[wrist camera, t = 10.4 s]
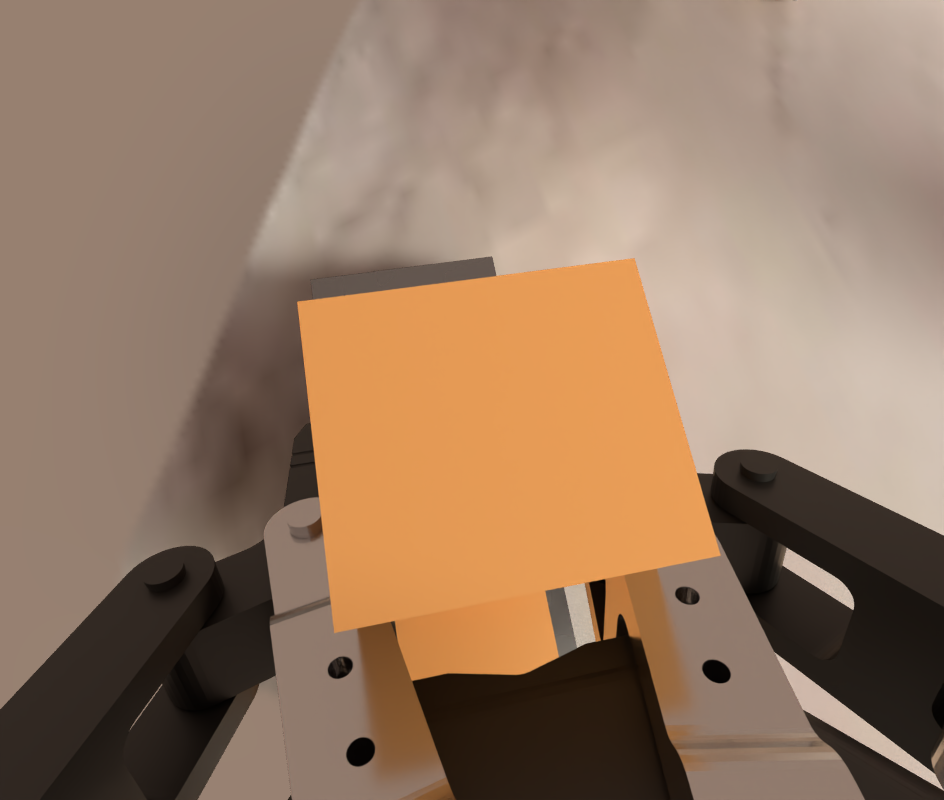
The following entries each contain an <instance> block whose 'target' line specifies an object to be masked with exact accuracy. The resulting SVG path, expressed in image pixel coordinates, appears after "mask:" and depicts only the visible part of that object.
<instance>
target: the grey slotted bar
mask: <svg viewBox="0 0 944 800" xmlns="http://www.w3.org/2000/svg"><path fill="white" fill-rule="evenodd" d="M493 276H496V272H495V267H494V263H493V258H492V257H484V258H477V259H469V260H461V261H453V262H445V263H438V264H430V265H422V266H414V267H406V268H399V269H391V270H383V271H375V272H367V273H360V274H352V275H344V276H336V277H328V278H321V279H313V280H311V288H312V296H313V300H315V299H323V298H330V297H338V296H346V295H354V294H361V293H369V292H377V291H385V290H392V289H400V288H408V287H416V286H423V285H431V284H439V283H447V282H454V281H462V280H470V279H478V278H485V277H493ZM545 592H546V597H547V602H548V607H549V611H550V616H551V621H552V626H553V631H554V636H555V640H556V645H557V650H558V655H559V657H560V656H562V655H564V654H566V653H568V652H570V651H572V650H574V649H576V648H577V646H576V642H575V637H574V632H573V628H572V623H571V618H570V614H569V609H568V605H567V600H566V595H565V591H564V587H562V588H557V589H552V590H547V591H545ZM391 624H392V627H393V630H394V633H395V635H396V638H397V632H396V625H395V621H392V622H391ZM397 641H398V640H397Z"/></svg>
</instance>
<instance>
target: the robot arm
mask: <svg viewBox="0 0 944 800" xmlns="http://www.w3.org/2000/svg"><path fill="white" fill-rule="evenodd" d="M292 455H293V456H292V458H291V464H290V466H291V468H290V471H289V477H288V484H287V490H286V497H285V503H284V508H282V509H281V510H279V511H278V512H277V513H275V514H274V515H273V516H272V517H271V519H270V520H269V521H268V523H267V524H266V526H265V529H264V540H262V541H261V542H259V543H258V544H256V545H254V546H253V547H251V548H249V549H247V550H244V551H242V552H240V553H237V554H235V555H232V556H230V557H227V558H225V559H222V560H220V561H217V562H215V561H214V558H213V556H212V554H211V553H210V552H209V551H207V550H206V549H203V548H201V547H196V546H182V547H176V548H172V549H168V550H165V551H162V552H160V553H157V554H155V555H153V556H151V557H149V558H148V559H146V560H144V561H143V562H141V563H140V564H139V565H137V566H136V567H135V568H133V569H132V570H131V571H130V572H129V573H128V574H127V575H126V576H125V577H124V578H123V579H122V581H121V582H120V583H119V584H118V585H117V586H116V587H115V588H114V589H113V590H112V591H111V592H110V593H109V594H108V596H107V597H106V598H105V599H104V600H103V601H102V602H101V603H100V604H99V605H98V606H97V607H96V608H95V609H94V610H93V611H92V612H91V614H90V615H89V616H88V617H87V618H86V619H85V620H84V621H83V622H82V623H81V624H80V625H79V627H77V628H76V630H75V631H74V632H73V633H72V634H71V635H70V636H69V637H68V638H67V639H66V640H65V641H64V642H63V643H62V645H61V646H60V647H59V648H58V649H57V650H56V651H55V652H54V653H53V654H52V655H51V656H50V657H49V658H48V659H47V660H46V662H45V663H44V664H43V665H42V666H41V667H40V668H39V669H38V670H37V671H36V672H35V673H34V674H33V675H32V676H31V677H30V679H29V680H28V681H27V682H26V683H25V684H24V685H23V686H22V687H21V688H20V689H19V690H18V691H17V692H16V694H14V696H13V697H12V698H11V699H10V700H9V701H8V702H7V703H6V704H5V705H4V706H3V707H2V708H1V709H0V800H197V799H198V798H199V796H200V794H201V792H202V790H203V789H204V787H205V785H206V783H207V782H208V780H209V778H210V776H211V774H212V773H213V771H214V769H215V767H216V765H217V764H218V762H219V760H220V758H221V756H222V755H223V753H224V751H225V749H226V747H227V745H228V744H229V742H230V740H231V738H232V737H233V735H234V733H235V731H236V729H237V728H238V726H239V724H240V722H241V720H242V719H243V717H244V715H245V713H246V711H247V710H248V708H249V706H250V704H251V703H252V701H253V699H254V697H255V695H256V693H257V690H258V686H259V683H261V682H263V681H265V680H267V679H269V678H271V677H273V676H275V675H276V679H277V687H278V695H279V703H280V710H281V718H282V726H283V734H284V742H285V750H286V757H287V765H288V772H289V781H290V789H291V796H290V797H289V799H288V800H944V791H943V790H941V789H940V788H938V787H936V786H934V785H933V784H931V783H929V782H928V781H926V780H924V779H922V778H921V777H919V776H917V775H915V774H914V773H912V772H910V771H908V770H907V769H905V768H903V767H902V766H900V765H898V764H896V763H895V762H893V761H891V760H889V759H888V758H886V757H884V756H882V755H881V754H879V753H877V752H876V751H874V750H872V749H870V748H869V747H867V746H865V745H863V744H862V743H860V742H858V741H856V740H855V739H853V738H851V737H850V736H848V735H846V734H844V733H843V732H841V731H839V730H837V729H836V728H834V727H832V726H830V725H829V724H827V723H825V722H824V721H822V720H820V719H818V718H817V717H815V716H813V715H811V714H810V713H808V712H806V711H804V710H803V709H802V707H801V705H800V703H799V701H798V699H797V697H796V695H795V693H794V691H793V689H792V687H791V685H790V683H789V681H788V679H787V677H786V675H785V673H784V671H783V669H782V667H781V665H780V663H779V661H778V659H777V657H776V655H775V653H776V654H778V655H779V656H780V657H782V658H783V659H784V660H786V661H787V662H788V663H790V664H791V665H792V666H794V667H795V668H796V669H798V670H799V671H800V672H801V673H803V674H804V675H805V676H807V677H808V678H809V679H811V680H812V681H813V682H815V683H816V684H817V685H819V686H820V687H821V688H823V689H824V690H825V691H827V692H828V693H829V694H831V695H832V696H833V697H834V698H836V699H837V700H838V701H840V702H841V703H842V704H844V705H845V706H846V707H848V708H849V709H850V710H852V711H853V712H854V713H856V714H857V715H858V716H860V717H861V718H862V719H863V720H865V721H866V722H867V723H869V724H870V725H871V726H873V727H874V728H875V729H877V730H878V731H879V732H881V733H882V734H883V735H885V736H886V737H887V738H889V739H890V740H891V741H892V742H894V743H895V744H896V745H898V746H899V747H900V748H902V749H903V750H904V751H906V752H907V753H908V754H910V755H911V756H912V757H914V758H915V759H916V760H918V761H919V762H920V763H921V764H923V765H924V766H925V767H927V768H928V769H929V770H931V771H932V772H933V773H935V774H936V777H937V779H938V781H939V782H940V784H941V786H942V788H943V789H944V536H943V535H941V534H939V533H937V532H935V531H933V530H931V529H929V528H927V527H925V526H923V525H920V524H918V523H916V522H914V521H912V520H910V519H908V518H906V517H904V516H902V515H900V514H898V513H896V512H894V511H891V510H889V509H887V508H885V507H883V506H881V505H879V504H877V503H875V502H873V501H871V500H869V499H867V498H864V497H862V496H860V495H858V494H856V493H854V492H852V491H850V490H848V489H846V488H844V487H842V486H840V485H837V484H835V483H833V482H831V481H829V480H827V479H825V478H823V477H821V476H819V475H817V474H815V473H813V472H811V471H808V470H806V469H804V468H802V467H800V466H798V465H796V464H794V463H792V462H790V461H788V460H786V459H784V458H781V457H779V456H777V455H774V454H771V453H768V452H763V451H758V450H734V451H730V452H727V453H725V454H723V455H721V456H720V457H719V458H718V459H717V460H716V462H715V465H714V472H713V474H700V473H697V476H698V479H699V482H700V486H701V489H702V493H703V496H704V500H705V503H706V507H707V510H708V513H709V517H710V520H711V524H712V527H713V531H714V534H715V538H716V541H717V544H718V548H719V551H720V555H721V556H717V557H712V558H707V559H702V560H697V561H692V562H687V563H682V564H677V565H672V566H667V567H662V568H657V569H652V570H647V571H642V572H637V573H632V574H627V575H622V576H617V577H612V578H607V579H602V580H597V581H592V582H587V583H585V587H586V592H587V598H588V603H589V608H590V613H591V619H592V624H593V629H594V634H595V640H596V642H592V643H587V644H584V645H582V646H580V647H578V648H576V649H574V650H572V651H570V652H568V653H566V654H564V655H562V656H560V657H558V658H556V659H554V660H552V661H550V662H548V663H546V664H544V665H542V666H540V667H538V668H536V669H534V670H532V671H530V672H527V673H524V674H519V675H504V674H460V673H447V674H442V675H437V676H433V677H428V678H423V679H419V680H414V681H412V680H411V677H410V674H409V672H408V669H407V666H406V663H405V661H404V658H403V655H402V652H401V649H400V647H399V644H398V641H397V638H396V635H395V633H394V630H393V627H392V624H391V622H387V623H382V624H377V625H372V626H367V627H362V628H357V629H352V630H347V631H342V632H337V633H334V627H333V618H332V609H331V600H330V591H329V582H328V573H327V564H326V555H325V546H324V537H323V528H322V519H321V510H320V501H319V492H318V483H317V474H316V465H315V457H314V448H313V439H312V430H311V424H306V425H305V426H304V428H303V429H302V430H301V431H300V432H299V434H298V435H297V436H296V437H295V438H294V445H293V451H292ZM786 548H788V549H790V550H792V551H793V552H795V553H797V554H798V555H800V556H802V557H803V558H805V559H807V560H808V561H810V562H812V563H813V564H815V565H817V566H818V567H820V568H822V569H823V570H825V571H827V572H828V573H830V574H832V575H833V576H835V577H836V578H838V579H839V580H840V581H841V582H843V583H844V584H845V586H846V587H847V588H848V589H849V591H850V592H851V594H852V597H853V599H854V610H852V609H850V608H849V607H847V606H846V605H844V604H842V603H841V602H839V601H838V600H836V599H834V598H833V597H831V596H830V595H828V594H826V593H825V592H823V591H822V590H820V589H819V588H817V587H815V586H814V585H812V584H811V583H809V582H807V581H806V580H804V579H803V578H801V577H800V576H798V575H796V574H795V573H793V572H792V571H790V570H788V569H787V568H785V567H784V566H782V564H783V560H784V556H785V552H786ZM774 652H775V653H774ZM161 684H162V686H161V688H160V689H159V691H158V692H157V693H156V695H155V696H154V698H153V699H152V701H151V702H150V703H149V705H148V706H147V707H146V709H145V710H144V711H143V713H142V715H141V716H140V717H139V719H138V720H137V721H136V723H135V724H134V726H133V727H132V728H131V726H132V725H133V723H134V722H135V720H136V719H137V717H138V716H139V715H140V713H141V712H142V710H143V709H144V707H145V706H146V705H147V703H148V702H149V701H150V699H151V698H152V696H153V695H154V694H155V692H156V691H157V689H158V688H159V687H160V685H161ZM130 728H131V730H130ZM129 730H130V731H129Z"/></svg>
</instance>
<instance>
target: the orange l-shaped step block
mask: <svg viewBox="0 0 944 800" xmlns="http://www.w3.org/2000/svg"><path fill="white" fill-rule="evenodd" d="M297 304H298V313H299V322H300V331H301V340H302V349H303V358H304V367H305V376H306V385H307V394H308V403H309V412H310V421H311V430H312V439H313V448H314V457H315V465H316V474H317V483H318V492H319V501H320V510H321V519H322V528H323V537H324V546H325V555H326V564H327V573H328V582H329V591H330V600H331V609H332V618H333V627H334V633H337V632H342V631H347V630H352V629H357V628H362V627H367V626H372V625H377V624H382V623H387V622H392V621H395V625H396V632H397V640H398V644H399V647H400V649H401V652H402V655H403V658H404V661H405V663H406V666H407V669H408V672H409V674H410V677H411V680H412V681H414V680H419V679H423V678H428V677H433V676H437V675H442V674H447V673H460V674H504V675H519V674H524V673H527V672H530V671H532V670H534V669H536V668H538V667H540V666H542V665H544V664H546V663H548V662H550V661H552V660H554V659H556V658H558V657H559V655H558V650H557V645H556V640H555V636H554V631H553V626H552V621H551V616H550V611H549V607H548V602H547V597H546V592H545V591H547V590H552V589H557V588H562V587H567V586H572V585H577V584H582V583H587V582H592V581H597V580H602V579H607V578H612V577H617V576H622V575H627V574H632V573H637V572H642V571H647V570H652V569H657V568H662V567H667V566H672V565H677V564H682V563H687V562H692V561H697V560H702V559H707V558H712V557H717V556H721V555H720V551H719V548H718V544H717V541H716V538H715V534H714V531H713V527H712V524H711V520H710V517H709V513H708V510H707V507H706V503H705V500H704V496H703V493H702V489H701V486H700V482H699V479H698V476H697V472H696V469H695V465H694V462H693V458H692V455H691V451H690V448H689V445H688V441H687V438H686V434H685V431H684V427H683V424H682V420H681V417H680V414H679V410H678V407H677V403H676V400H675V396H674V393H673V390H672V386H671V383H670V379H669V376H668V372H667V369H666V365H665V362H664V359H663V355H662V352H661V348H660V345H659V341H658V338H657V334H656V331H655V328H654V324H653V321H652V317H651V314H650V310H649V307H648V303H647V300H646V297H645V293H644V290H643V286H642V283H641V279H640V276H639V272H638V269H637V266H636V262H635V259H634V258H633V259H625V260H617V261H609V262H602V263H594V264H586V265H578V266H571V267H563V268H555V269H547V270H540V271H532V272H524V273H516V274H509V275H501V276H493V277H485V278H478V279H470V280H462V281H454V282H447V283H439V284H431V285H423V286H416V287H408V288H400V289H392V290H385V291H377V292H369V293H361V294H354V295H346V296H338V297H330V298H323V299H315V300H307V301H299V302H297Z"/></svg>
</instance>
